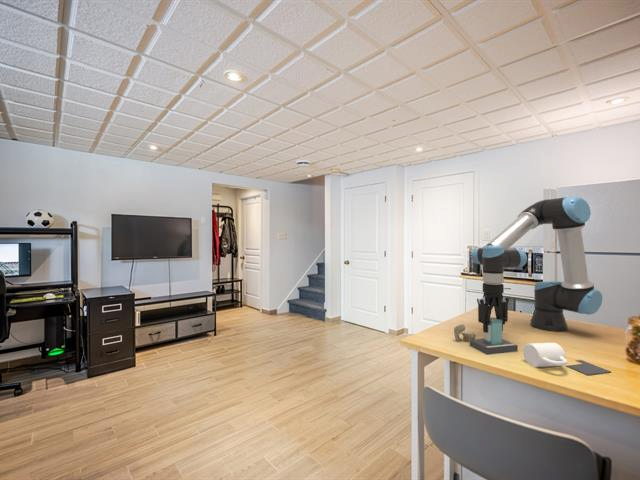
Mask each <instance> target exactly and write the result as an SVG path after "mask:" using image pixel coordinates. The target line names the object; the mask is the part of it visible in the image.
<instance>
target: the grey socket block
mask: <svg viewBox="0 0 640 480" xmlns="http://www.w3.org/2000/svg"><path fill="white" fill-rule="evenodd" d="M469 346H470V347H472V348H474V349H475V350H477V351H479V352H481V353H483V354H485V355H497V354H498V355H499V354H506V353H507V354H508V353H517V352H518V351H519V350H518V346H519V345H518V344H516V343H513V342H511V341H508V340H506V339H503V338H502V344H501V345H491V344H488V343H486V342H484V338H475V339H472V340H470V342H469Z"/></svg>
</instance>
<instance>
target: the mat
mask: <svg viewBox="0 0 640 480" xmlns="http://www.w3.org/2000/svg"><path fill="white" fill-rule="evenodd" d="M575 362H577V364H572V365H571V364H570V365H568V364H567V365H565V367H566V368H569V369H571V370H572V371H576V372H578V373H581V374H583V375H585V376H587V377H588V376H596V375H603V374H605V375H606V374H610V373H612V371H611V370H608V369H605V368H603V367H601V366H599V365H595V364H593V363H590V362H587V361H585V360H582V359H577V360H575ZM578 363H579V364H578Z"/></svg>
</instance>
